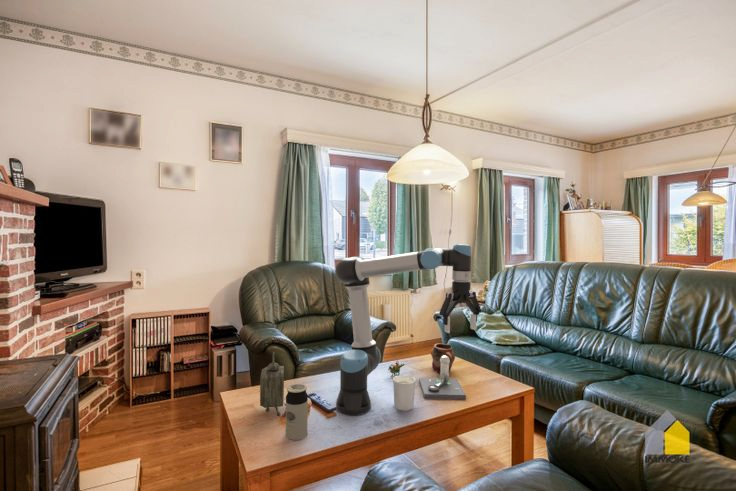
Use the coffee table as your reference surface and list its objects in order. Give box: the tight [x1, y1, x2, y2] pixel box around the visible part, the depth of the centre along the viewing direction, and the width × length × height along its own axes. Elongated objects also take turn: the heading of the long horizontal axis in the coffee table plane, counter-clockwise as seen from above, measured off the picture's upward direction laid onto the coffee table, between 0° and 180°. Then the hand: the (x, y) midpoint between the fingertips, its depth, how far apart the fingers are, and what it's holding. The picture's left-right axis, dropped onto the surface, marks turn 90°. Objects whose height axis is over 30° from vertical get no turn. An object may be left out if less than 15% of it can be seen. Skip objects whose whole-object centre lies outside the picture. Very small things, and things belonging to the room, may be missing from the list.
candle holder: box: [392, 374, 416, 411], centre depth 163 cm, size 10×10×12 cm
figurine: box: [387, 359, 406, 377], centre depth 198 cm, size 3×12×8 cm, turn 128°
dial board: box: [418, 377, 467, 400], centre depth 181 cm, size 19×19×2 cm
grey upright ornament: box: [259, 351, 285, 417], centre depth 157 cm, size 14×9×25 cm, turn 12°
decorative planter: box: [430, 342, 456, 374], centre depth 206 cm, size 20×12×14 cm, turn 20°
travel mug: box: [285, 383, 309, 441], centre depth 139 cm, size 8×8×18 cm
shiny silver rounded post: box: [428, 355, 450, 391], centre depth 179 cm, size 15×5×14 cm, turn 138°
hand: (460, 330), depth 158 cm, fingers open, 13 cm apart
